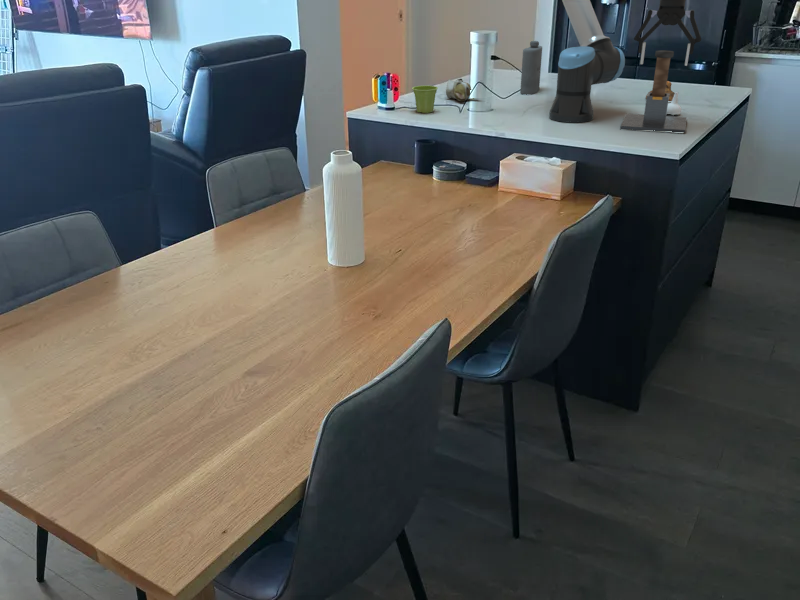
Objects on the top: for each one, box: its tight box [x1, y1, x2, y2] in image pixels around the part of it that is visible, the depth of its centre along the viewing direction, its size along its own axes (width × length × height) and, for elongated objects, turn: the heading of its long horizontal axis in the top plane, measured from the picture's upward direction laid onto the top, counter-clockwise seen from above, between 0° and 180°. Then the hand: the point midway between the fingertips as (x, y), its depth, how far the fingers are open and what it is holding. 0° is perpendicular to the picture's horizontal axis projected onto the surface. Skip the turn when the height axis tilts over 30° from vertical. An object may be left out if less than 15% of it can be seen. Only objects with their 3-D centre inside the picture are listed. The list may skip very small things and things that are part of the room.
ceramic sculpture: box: [445, 78, 472, 102], centre depth 276 cm, size 11×9×15 cm
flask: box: [519, 40, 543, 96], centre depth 288 cm, size 15×6×20 cm, turn 155°
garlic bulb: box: [666, 91, 682, 115], centre depth 248 cm, size 6×6×8 cm
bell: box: [645, 80, 675, 101], centre depth 272 cm, size 12×12×7 cm
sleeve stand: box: [619, 91, 688, 133], centre depth 233 cm, size 20×20×10 cm
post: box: [651, 49, 675, 96], centre depth 229 cm, size 6×6×22 cm
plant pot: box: [411, 85, 439, 114], centre depth 258 cm, size 9×9×9 cm
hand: (663, 64), depth 226 cm, fingers open, 13 cm apart
